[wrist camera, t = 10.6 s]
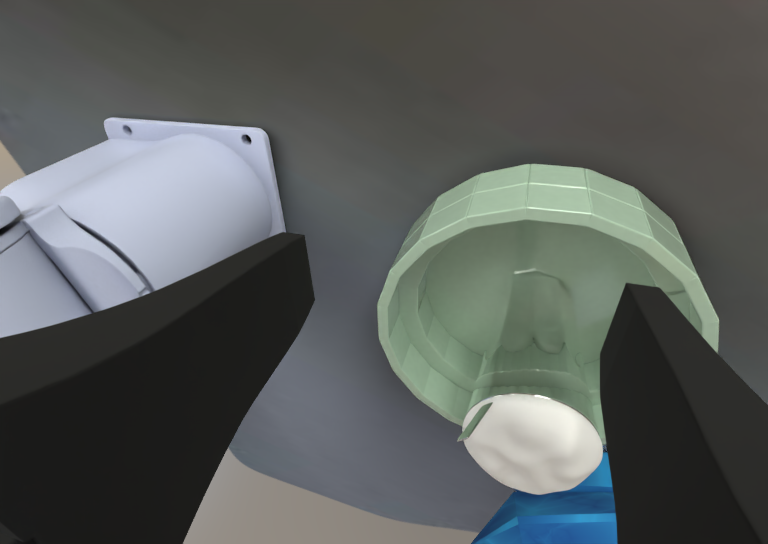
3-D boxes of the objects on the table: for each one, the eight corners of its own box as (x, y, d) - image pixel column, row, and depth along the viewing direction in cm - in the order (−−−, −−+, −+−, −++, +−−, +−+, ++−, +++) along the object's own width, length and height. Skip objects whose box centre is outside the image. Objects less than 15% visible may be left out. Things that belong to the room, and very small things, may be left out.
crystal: (727, 637, 22) (486, 642, 25) (652, 476, 29) (471, 492, 32) (749, 566, 18) (461, 579, 21) (656, 401, 26) (451, 426, 28)
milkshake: (537, 230, 19) (529, 419, 12) (606, 311, 21) (639, 529, 13) (457, 277, 22) (407, 455, 14) (522, 346, 23) (509, 544, 16)
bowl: (403, 353, 27) (382, 412, 24) (402, 147, 20) (370, 190, 16) (636, 399, 24) (650, 476, 20) (743, 173, 16) (795, 235, 13)
